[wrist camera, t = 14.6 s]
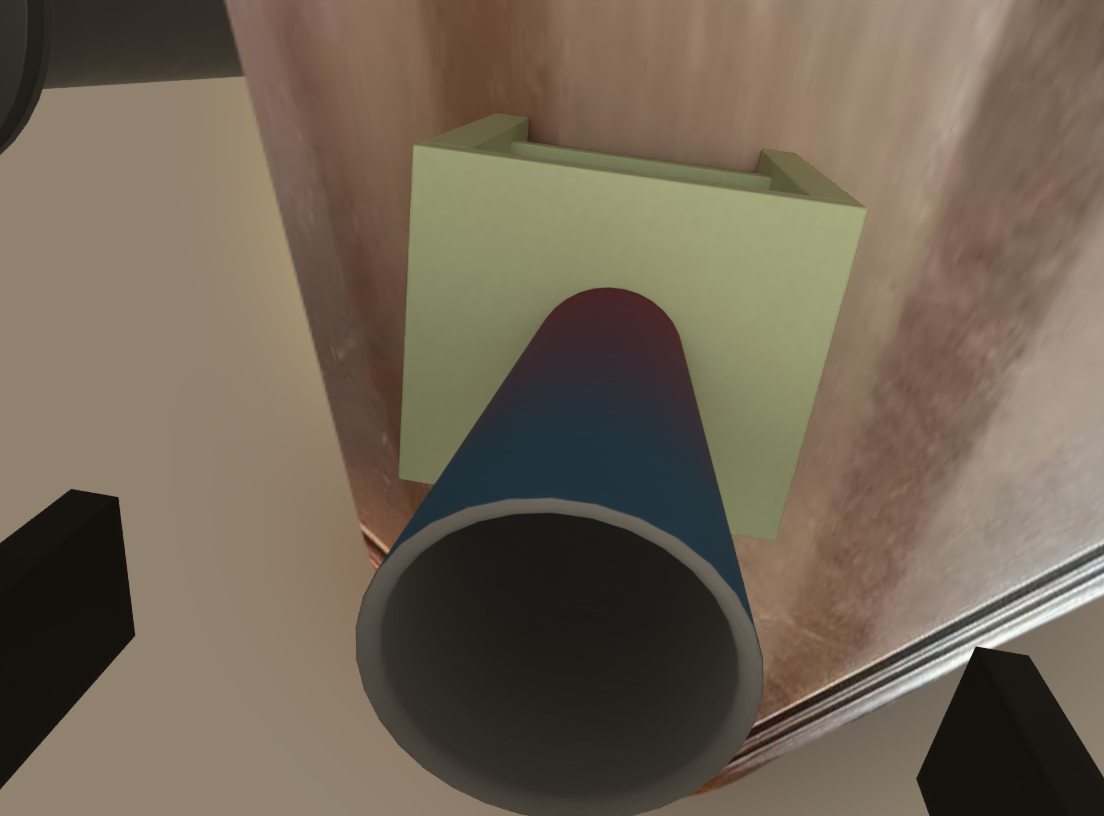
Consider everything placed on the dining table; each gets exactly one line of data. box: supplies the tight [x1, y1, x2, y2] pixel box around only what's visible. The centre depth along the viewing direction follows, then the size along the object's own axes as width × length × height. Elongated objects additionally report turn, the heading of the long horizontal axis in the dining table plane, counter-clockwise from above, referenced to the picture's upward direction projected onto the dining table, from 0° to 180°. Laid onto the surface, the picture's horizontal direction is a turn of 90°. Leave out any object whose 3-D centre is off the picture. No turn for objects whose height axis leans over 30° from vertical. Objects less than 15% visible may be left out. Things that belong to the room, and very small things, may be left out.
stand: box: [399, 113, 868, 541], centre depth 33 cm, size 14×12×14 cm
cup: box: [356, 287, 763, 816], centre depth 20 cm, size 7×7×15 cm
